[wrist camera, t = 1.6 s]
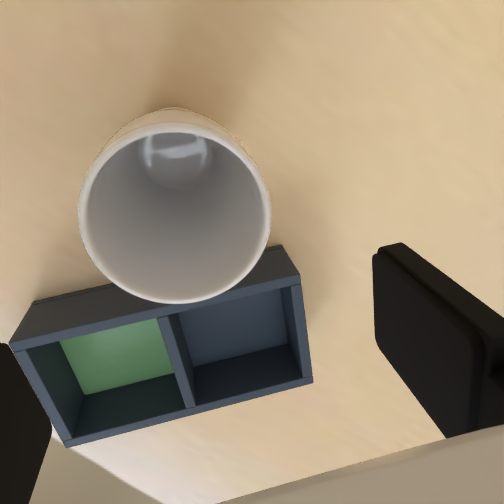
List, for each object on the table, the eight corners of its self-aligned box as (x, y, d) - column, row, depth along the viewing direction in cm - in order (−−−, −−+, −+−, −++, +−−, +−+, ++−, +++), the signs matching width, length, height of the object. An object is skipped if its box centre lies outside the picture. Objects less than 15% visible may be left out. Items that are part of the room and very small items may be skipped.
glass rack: (32, 301, 30) (7, 343, 25) (281, 244, 32) (300, 273, 27) (80, 398, 34) (65, 448, 30) (295, 343, 36) (313, 383, 31)
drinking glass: (193, 212, 29) (211, 333, 16) (106, 163, 27) (37, 257, 13) (244, 132, 27) (312, 191, 14) (155, 72, 25) (135, 73, 11)
